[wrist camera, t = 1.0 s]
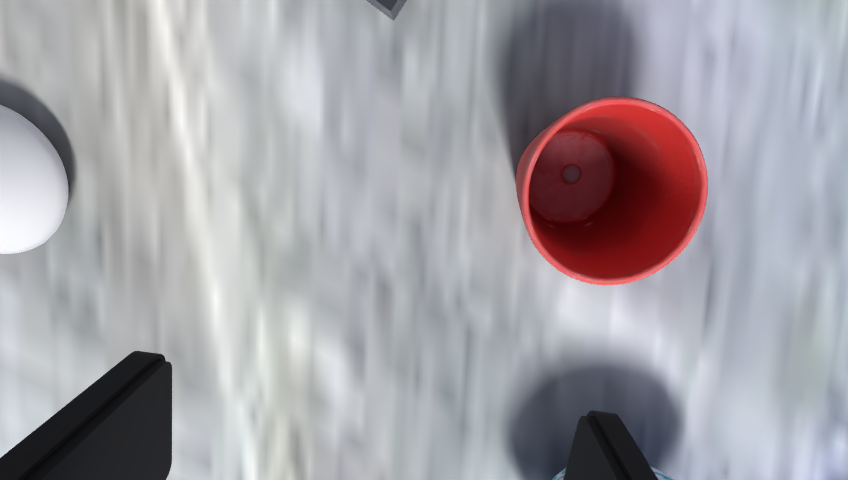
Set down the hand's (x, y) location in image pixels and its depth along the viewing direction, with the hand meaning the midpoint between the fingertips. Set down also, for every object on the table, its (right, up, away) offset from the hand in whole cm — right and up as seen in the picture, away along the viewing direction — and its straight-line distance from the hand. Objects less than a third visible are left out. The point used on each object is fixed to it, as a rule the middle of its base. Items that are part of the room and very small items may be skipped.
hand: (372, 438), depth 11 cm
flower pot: (+12, +9, +26) cm, 30 cm away
